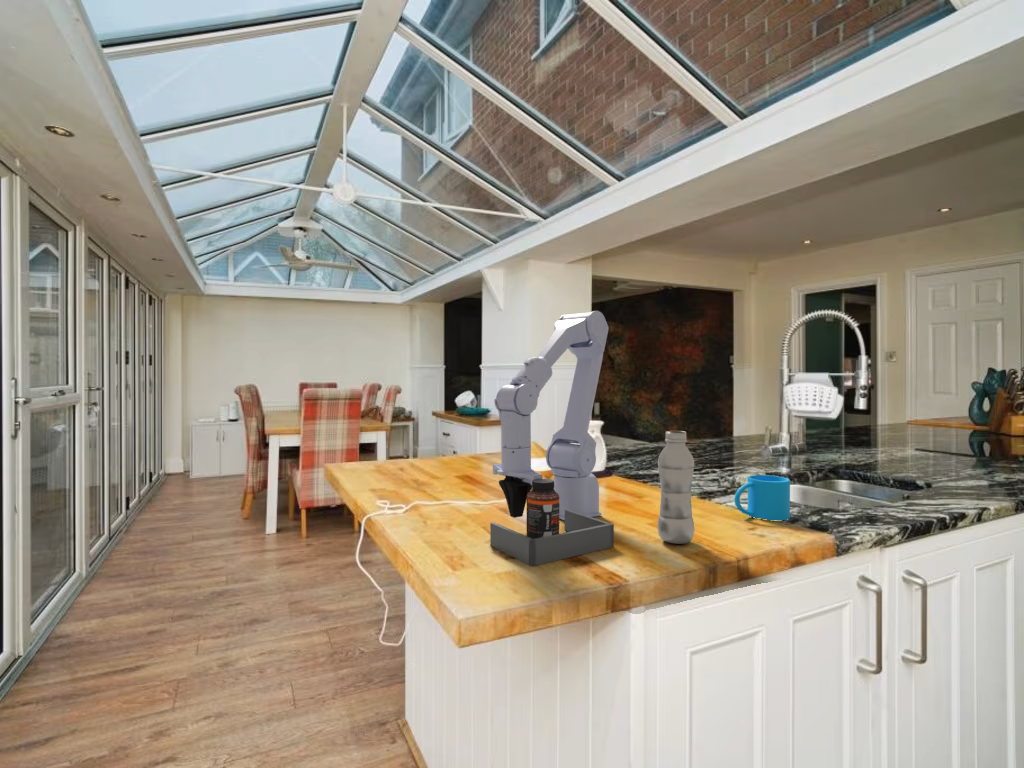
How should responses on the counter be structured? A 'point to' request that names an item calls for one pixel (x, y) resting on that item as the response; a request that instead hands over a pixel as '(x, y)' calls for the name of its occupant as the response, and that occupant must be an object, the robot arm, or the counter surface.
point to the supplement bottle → (542, 509)
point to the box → (555, 540)
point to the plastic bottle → (676, 490)
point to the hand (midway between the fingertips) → (516, 516)
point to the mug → (766, 497)
